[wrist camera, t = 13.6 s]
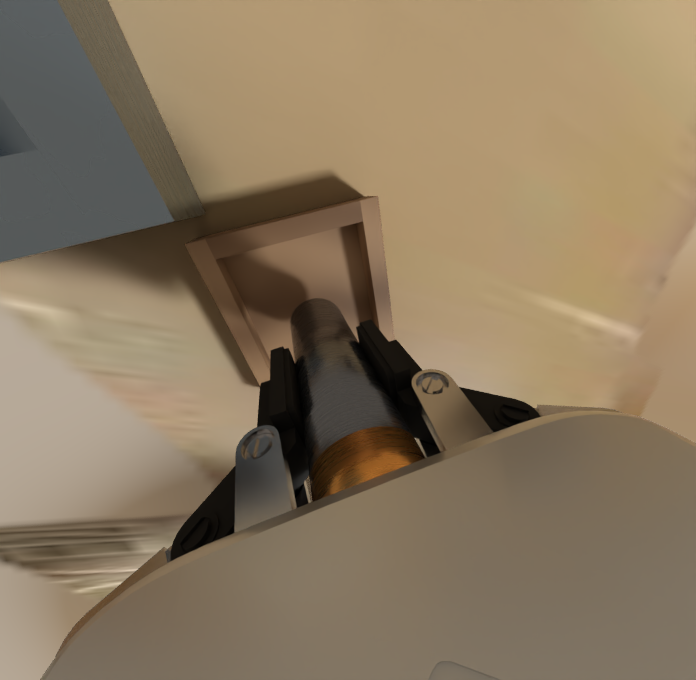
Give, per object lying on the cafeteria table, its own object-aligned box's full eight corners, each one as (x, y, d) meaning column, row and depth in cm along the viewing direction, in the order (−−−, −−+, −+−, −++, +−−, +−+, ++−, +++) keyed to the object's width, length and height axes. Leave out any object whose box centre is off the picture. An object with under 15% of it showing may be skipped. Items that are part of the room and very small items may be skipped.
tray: (386, 353, 21) (398, 369, 19) (273, 390, 20) (273, 411, 18) (364, 196, 15) (377, 196, 13) (196, 238, 14) (184, 244, 12)
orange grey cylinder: (336, 291, 14) (483, 515, 4) (347, 336, 16) (469, 572, 6) (282, 307, 14) (305, 592, 4) (299, 351, 16) (345, 629, 6)
